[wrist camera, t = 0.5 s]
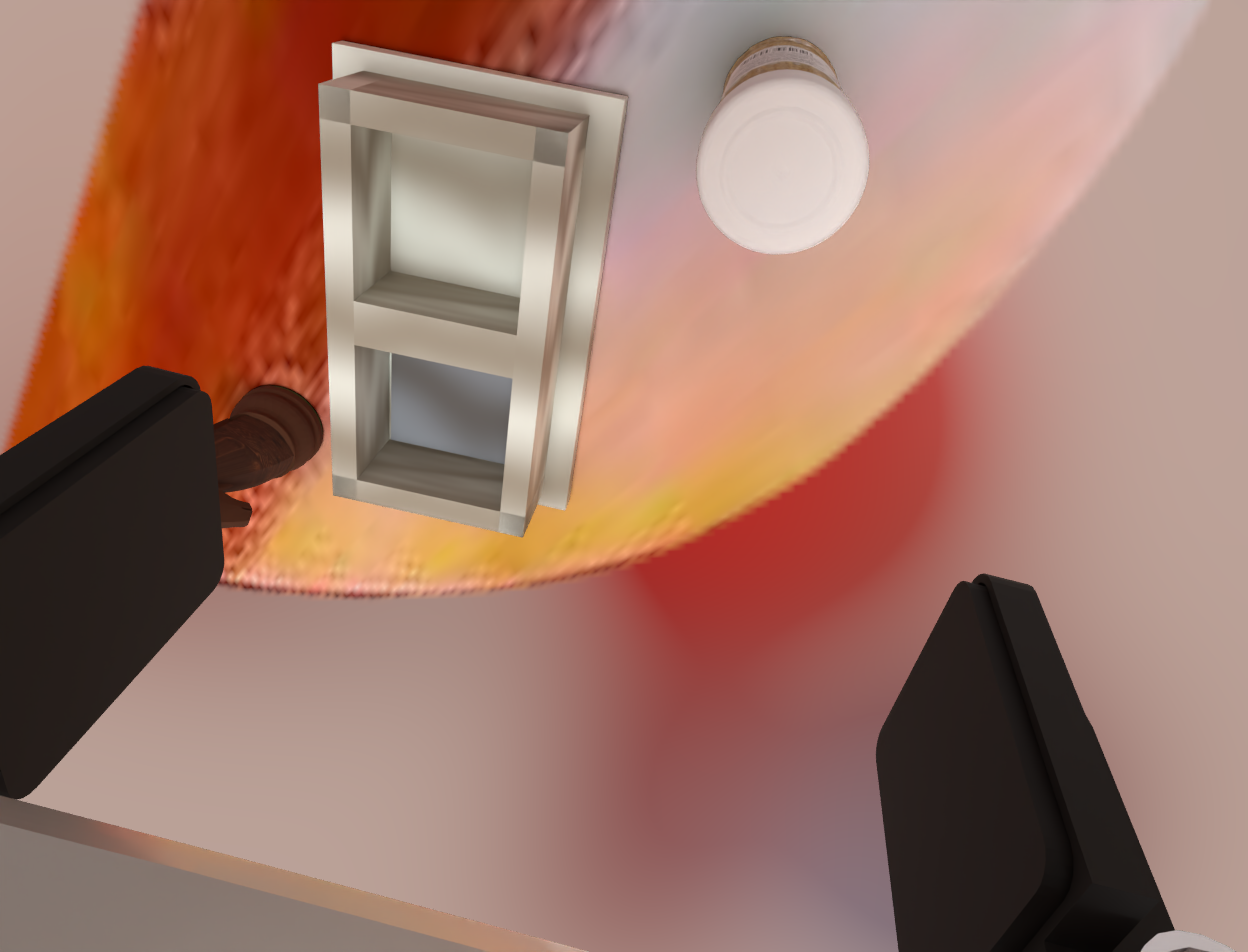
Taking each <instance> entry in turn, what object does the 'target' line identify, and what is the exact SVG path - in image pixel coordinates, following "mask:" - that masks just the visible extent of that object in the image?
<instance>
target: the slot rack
mask: <svg viewBox="0 0 1248 952" xmlns="http://www.w3.org/2000/svg"><path fill="white" fill-rule="evenodd" d="M332 64H333V80H329V81H326V82H322V83H319V84H318V88H319V116H320V144H321V172H322V200H323V227H324V255H325V283H326V311H327V339H328V366H329V394H330V422H331V450H332V478H333V495H334V496H339V497H343V498H348V499H352V500H357V501H361V502H366V503H370V504H375V505H379V506H384V507H388V508H393V509H397V510H402V511H406V512H411V513H415V514H420V515H424V516H429V517H433V518H438V519H442V520H447V521H451V522H456V523H460V524H465V525H469V526H474V527H478V528H483V529H487V530H492V531H496V532H501V533H505V534H510V535H514V536H519V537H523V536H524V534H525V531H526V529H527V527H528V524H529V522H530V520H531V518H532V515H533V513H534V511H535V509H536V506H537V504H538V505H543V506H547V507H552V508H556V509H561V510H566V507H567V505H568V502H569V499H570V492H571V485H572V478H573V472H574V465H575V458H576V451H577V444H578V437H579V431H580V424H581V417H582V410H583V403H584V396H585V389H586V383H587V376H588V369H589V362H590V355H591V348H592V342H593V335H594V328H595V321H596V314H597V307H598V301H599V294H600V287H601V280H602V273H603V266H604V259H605V253H606V246H607V239H608V232H609V225H610V218H611V212H612V205H613V198H614V191H615V184H616V177H617V171H618V164H619V157H620V150H621V143H622V136H623V129H624V123H625V116H626V109H627V102H628V96H624V95H619V94H614V93H608V92H603V91H598V90H593V89H588V88H583V87H578V86H573V85H567V84H562V83H557V82H552V81H547V80H542V79H537V78H532V77H526V76H521V75H516V74H511V73H506V72H501V71H496V70H491V69H485V68H480V67H475V66H470V65H465V64H460V63H455V62H450V61H444V60H439V59H434V58H429V57H424V56H419V55H414V54H409V53H404V52H398V51H393V50H388V49H383V48H378V47H373V46H368V45H363V44H357V43H352V42H347V41H339V42H334V43H332Z"/></svg>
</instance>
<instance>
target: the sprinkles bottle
mask: <svg viewBox="0 0 1248 952" xmlns="http://www.w3.org/2000/svg"><path fill="white" fill-rule="evenodd" d="M868 172H869V149H868V142H867V138H866V135H865V131H864V128H863V125H862V123H861V120H860V118H859V116H858V114H857V112H856V110H855V108H854V107H853V105H852V104H851V102H850V100H849V99H848V98H847V97H846V96H845V94H844V93H843V91H842V89H841V87H840V85H839V82H838V80H837V76H836V73H835V70H834V68H833V67H832V65H831V64H830V62H829V60H828V58H827V56H826V55H825V54H824V53H823V52H822V51H821V50H820V49H819V48H818V47H816V46H815V45H813V44H812V43H810V42H808V41H806V40H803V39H800V38H793V37H773V38H769V39H766V40H764V41H762V42H759V43H757V44H755V45H753V46H752V47H751V48H749V49H748V51H746V52H745V53H744V54H743V55H742V56H741V57H739V58H738V59H737V61H736V62H735V64H734V66H733V67H732V69H731V70H730V72H729V74H728V76H727V78H726V81H725V84H724V91H723V96H722V99H721V102H720V103H719V105H718V106H717V107H716V109H715V110H714V111H713V113H712V115H711V117H710V119H709V120H708V123H707V125H706V127H705V130H704V132H703V135H702V138H701V142H700V146H699V150H698V156H697V164H696V179H697V186H698V191H699V195H700V199H701V202H702V204H703V206H704V209H705V211H706V212H707V214H708V216H709V218H710V219H711V220H712V222H713V223H714V225H715V226H716V227H717V228H718V229H719V230H720V231H721V232H722V233H723V234H724V235H725V236H726V237H727V238H729V239H730V240H732V241H733V242H735V243H737V244H738V245H740V246H742V247H744V248H746V249H749V250H752V251H755V252H760V253H765V254H773V255H778V254H790V253H796V252H800V251H803V250H806V249H809V248H812V247H814V246H816V245H818V244H819V243H821V242H823V241H825V240H826V239H828V238H829V237H831V236H832V235H833V234H834V233H835V232H837V231H838V230H839V229H840V228H841V227H842V226H843V225H844V224H845V223H846V222H847V220H848V219H849V218H850V216H851V215H852V214H853V212H854V211H855V209H856V208H857V206H858V204H859V202H860V200H861V197H862V195H863V192H864V189H865V186H866V182H867V178H868Z"/></svg>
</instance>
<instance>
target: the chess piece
mask: <svg viewBox="0 0 1248 952" xmlns="http://www.w3.org/2000/svg"><path fill="white" fill-rule="evenodd" d="M213 427H214V440H215V452H216V464H217V477H218V489H219V502H220V514H221V527H222V528H229V527H245V526H247V525H248V523H249V520H250V517H251V514H252V508H251V506H250V504H249V503H247V502H242V501H239V500H236V499H234V498H232V497H230V496H229V495H227V494H225V492H233V491H239V490H244V489H248V488H252V487H255V486H258V485H260V484H263V483H265V482H267V481H269V480H271V479H273V478H278V477H282V476H283V475H285V474H287V473H288V472H289V471H292V470H295V469H297V468H299V467H301V466H302V465H304V464H305V463H306V462H307V461H308V460H310V459H311V458H312V457H313V456H314V455H315V454H316V453H317V451H318V450H319V448H320V446H321V443H322V434H323V433H322V425H321V422H320V419H319V417H318V415H317V413H316V411H315V410H314V409H313V407H312V406H311V405H310V404H309V403H308V402H307V401H306V400H305V399H304V398H302V397H301V396H300V395H298V394H297V393H295V392H293V391H291V390H289V389H286V388H283V387H279V386H261V387H258V388H255V389H253V390H251V391H250V392H248V393H247V394H246V395H245V396H244V397H243V398H242V399H241V401H240V402H239V403H238V404H237V405H236V406H235V408H234V409H233V411H232V413H231V416H230V418H229V419H228V418H227V419H225V420H223V421H220V422H218V423H216V424H214V425H213Z"/></svg>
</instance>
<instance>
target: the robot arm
mask: <svg viewBox="0 0 1248 952" xmlns="http://www.w3.org/2000/svg"><path fill="white" fill-rule="evenodd" d="M223 568H224V551H223V539H222V527H221V514H220V502H219V489H218V477H217V464H216V452H215V440H214V427H213V415H212V404H211V399H210V397H209V395H208V394H207V393H205V392H203V391H201V390H200V386H199V384H198V383H197V381H196V380H195V379H194V378H192V377H191V376H187V375H183V374H179V373H175V372H171V371H167V370H163V369H159V368H155V367H151V366H141V367H139V368H137V369H135V370H133V371H132V372H130V373H129V374H127V375H125V376H124V377H122V378H121V379H119V380H118V381H116V382H114V383H113V384H111V385H110V386H108V387H107V388H105V389H103V390H102V391H100V392H99V393H97V394H96V395H94V396H92V397H91V398H89V399H88V400H86V401H85V402H83V403H81V404H80V405H78V406H77V407H75V408H74V409H72V410H70V411H69V412H67V413H66V414H64V415H63V416H61V417H59V418H58V419H56V420H55V421H53V422H52V423H50V424H49V425H47V426H45V427H44V428H42V429H41V430H39V431H38V432H36V433H34V434H33V435H31V436H30V437H28V438H27V439H25V440H23V441H22V442H20V443H19V444H17V445H16V446H14V447H12V448H11V449H9V450H8V451H6V452H5V453H3V454H1V455H0V952H588V951H585V950H581V949H577V948H574V947H570V946H566V945H563V944H559V943H555V942H552V941H548V940H544V939H541V938H537V937H533V936H530V935H526V934H522V933H518V932H515V931H511V930H507V929H503V928H500V927H495V926H492V925H488V924H485V923H481V922H477V921H474V920H470V919H466V918H462V917H459V916H455V915H451V914H447V913H444V912H440V911H436V910H432V909H429V908H425V907H421V906H417V905H414V904H410V903H406V902H402V901H399V900H395V899H391V898H387V897H384V896H380V895H376V894H372V893H369V892H365V891H361V890H358V889H354V888H350V887H346V886H343V885H339V884H335V883H331V882H328V881H324V880H320V879H316V878H312V877H308V876H305V875H301V874H297V873H293V872H290V871H286V870H282V869H278V868H275V867H271V866H267V865H263V864H260V863H256V862H252V861H249V860H245V859H241V858H237V857H233V856H230V855H225V854H222V853H218V852H214V851H210V850H207V849H203V848H199V847H195V846H191V845H187V844H184V843H179V842H176V841H172V840H168V839H164V838H161V837H157V836H153V835H149V834H145V833H141V832H138V831H134V830H130V829H126V828H122V827H119V826H115V825H111V824H107V823H103V822H99V821H96V820H92V819H87V818H84V817H80V816H76V815H72V814H69V813H65V812H61V811H57V810H53V809H50V808H46V807H42V806H38V805H34V804H30V803H27V802H22V801H19V800H17V799H21V798H24V797H25V796H27V795H29V794H30V793H31V792H32V791H33V790H34V789H35V788H37V786H38V785H39V784H40V783H41V782H42V781H43V780H44V779H45V778H46V776H47V775H48V774H49V773H50V772H51V771H52V770H53V768H55V766H56V765H57V764H58V763H59V762H60V761H61V760H62V759H63V757H64V756H65V755H66V754H67V753H68V752H69V751H70V750H71V749H72V747H73V746H74V745H75V744H76V743H77V742H78V741H79V740H80V738H81V737H82V736H83V735H84V734H85V733H86V732H87V731H88V730H89V728H90V727H91V726H92V725H93V724H94V723H95V722H96V721H97V719H98V718H99V717H100V716H101V715H102V714H103V713H104V712H105V711H106V710H107V708H108V707H109V706H110V705H111V704H112V703H113V702H114V700H115V699H116V698H117V697H118V696H119V695H120V694H121V693H122V692H123V691H124V689H125V688H126V687H127V686H128V685H129V684H130V683H131V682H132V680H133V679H134V678H135V677H136V676H137V675H138V674H139V673H140V672H141V671H142V669H143V668H144V667H145V666H146V665H147V664H148V663H149V662H150V660H151V659H152V658H153V657H154V656H155V655H156V654H157V653H158V652H159V650H160V649H161V648H162V647H163V646H164V645H165V644H166V643H167V642H168V640H169V639H170V638H171V637H172V636H173V635H174V634H175V633H176V631H177V630H178V629H179V628H180V627H181V626H182V625H183V624H184V623H185V621H186V620H187V619H188V618H189V617H190V616H191V615H192V614H193V613H194V611H195V610H196V609H197V608H198V607H199V606H200V604H202V602H203V601H204V600H205V599H206V598H207V597H208V596H209V595H210V594H211V592H212V591H213V590H214V589H215V587H216V586H217V584H218V582H219V581H220V578H221V576H222V573H223ZM876 763H877V771H878V780H879V789H880V797H881V806H882V814H883V822H884V831H885V840H886V848H887V856H888V865H889V873H890V882H891V890H892V898H893V906H894V916H895V924H896V932H897V941H898V949H899V952H1236V951H1234V950H1233V949H1231V948H1230V947H1228V946H1226V945H1224V944H1222V943H1219V942H1217V941H1215V940H1213V939H1210V938H1208V937H1206V936H1204V935H1201V934H1196V933H1190V932H1185V931H1180V930H1175V929H1174V927H1173V924H1172V922H1171V920H1170V917H1169V915H1168V912H1167V910H1166V907H1165V905H1164V902H1163V900H1162V898H1161V895H1160V892H1159V890H1158V887H1157V885H1156V882H1155V880H1154V877H1153V875H1152V873H1151V870H1150V868H1149V865H1148V863H1147V860H1146V858H1145V855H1144V853H1143V850H1142V848H1141V845H1140V843H1139V840H1138V838H1137V835H1136V833H1135V830H1134V828H1133V826H1132V823H1131V821H1130V818H1129V816H1128V813H1127V811H1126V808H1125V806H1124V803H1123V801H1122V798H1121V796H1120V793H1119V791H1118V789H1117V786H1116V784H1115V781H1114V779H1113V776H1112V774H1111V771H1110V769H1109V767H1108V764H1107V761H1106V759H1105V757H1104V754H1103V751H1102V749H1101V747H1100V744H1099V742H1098V739H1097V737H1096V734H1095V732H1094V729H1093V727H1092V725H1091V724H1090V722H1089V720H1088V718H1087V717H1086V715H1085V713H1084V710H1083V708H1082V706H1081V703H1080V700H1079V698H1078V695H1077V693H1076V691H1075V688H1074V686H1073V683H1072V680H1071V678H1070V675H1069V673H1068V670H1067V668H1066V665H1065V663H1064V660H1063V658H1062V655H1061V653H1060V650H1059V648H1058V645H1057V643H1056V641H1055V638H1054V636H1053V633H1052V631H1051V628H1050V626H1049V623H1048V621H1047V618H1046V616H1045V613H1044V611H1043V608H1042V606H1041V603H1040V601H1039V598H1038V596H1037V593H1036V591H1035V590H1034V588H1033V587H1032V586H1030V585H1028V584H1024V583H1020V582H1016V581H1012V580H1007V579H1004V578H1000V577H996V576H992V575H988V574H980V575H978V576H977V577H976V578H975V579H974V580H973V582H972V583H970V582H966V581H962V582H960V583H959V584H957V586H956V587H955V589H954V591H953V592H952V594H951V596H950V598H949V600H948V602H947V604H946V606H945V608H944V609H943V611H942V613H941V615H940V617H939V619H938V621H937V623H936V625H935V627H934V629H933V631H932V633H931V634H930V637H929V638H928V640H927V642H926V644H925V646H924V648H923V650H922V652H921V654H920V656H919V658H918V660H917V661H916V663H915V665H914V667H913V669H912V671H911V673H910V675H909V677H908V679H907V681H906V683H905V684H904V686H903V688H902V690H901V692H900V694H899V696H898V698H897V700H896V702H895V704H894V706H893V707H892V710H891V711H890V713H889V715H888V717H887V719H886V721H885V723H884V725H883V727H882V729H881V731H880V734H879V737H878V741H877V747H876ZM15 799H16V800H15Z"/></svg>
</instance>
